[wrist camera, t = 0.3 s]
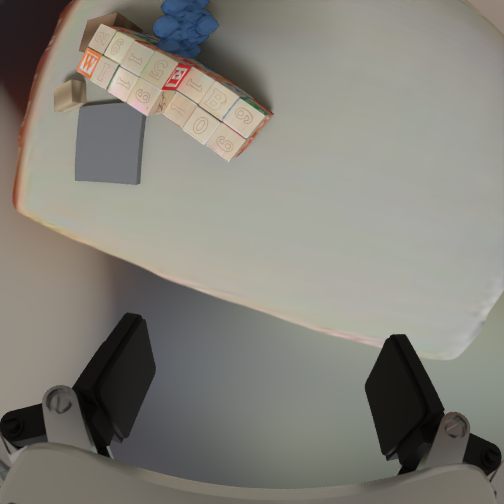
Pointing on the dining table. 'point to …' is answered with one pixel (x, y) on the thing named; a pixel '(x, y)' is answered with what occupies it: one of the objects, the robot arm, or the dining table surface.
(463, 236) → the dining table surface
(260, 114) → the stack of blocks
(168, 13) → the grapes
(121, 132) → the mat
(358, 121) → the dining table surface
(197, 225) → the dining table surface
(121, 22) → the walnut block
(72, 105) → the maple cube
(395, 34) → the dining table surface
